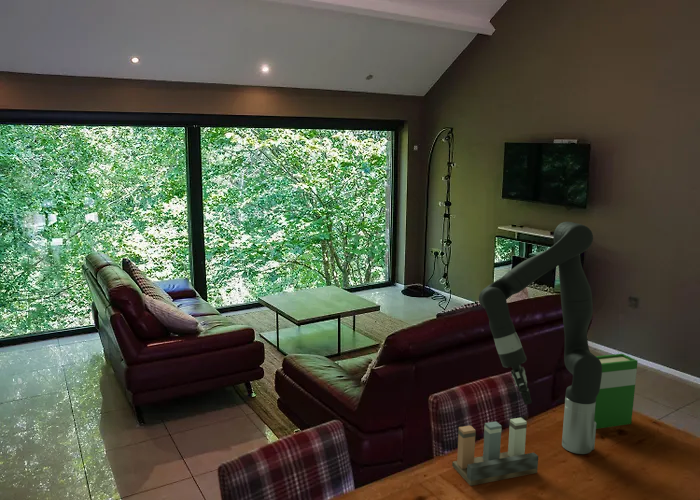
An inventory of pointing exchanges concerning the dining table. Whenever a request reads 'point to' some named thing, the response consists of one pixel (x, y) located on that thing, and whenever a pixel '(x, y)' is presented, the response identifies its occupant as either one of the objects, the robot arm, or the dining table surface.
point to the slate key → (492, 441)
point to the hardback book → (615, 391)
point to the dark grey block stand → (498, 468)
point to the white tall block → (517, 437)
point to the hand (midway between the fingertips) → (527, 399)
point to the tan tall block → (466, 446)
